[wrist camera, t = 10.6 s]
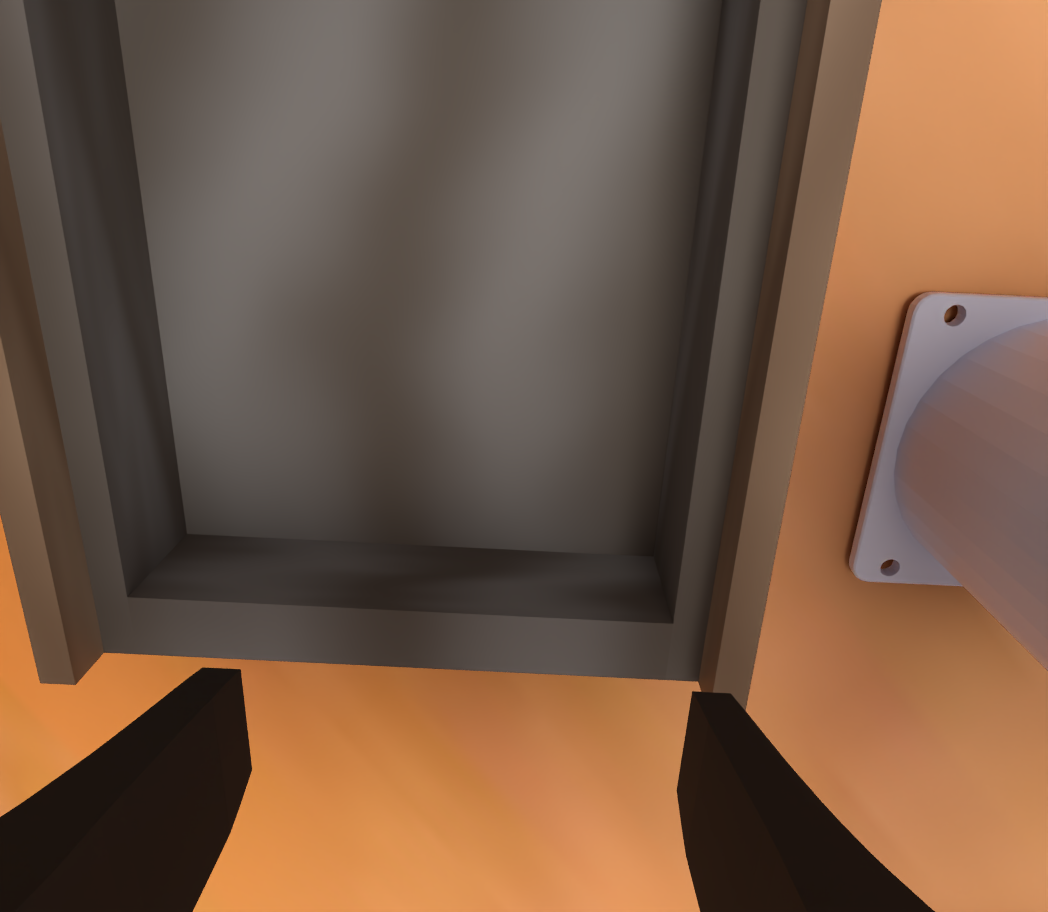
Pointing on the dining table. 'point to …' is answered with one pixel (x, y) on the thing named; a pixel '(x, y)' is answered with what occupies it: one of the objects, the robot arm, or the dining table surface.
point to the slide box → (413, 324)
